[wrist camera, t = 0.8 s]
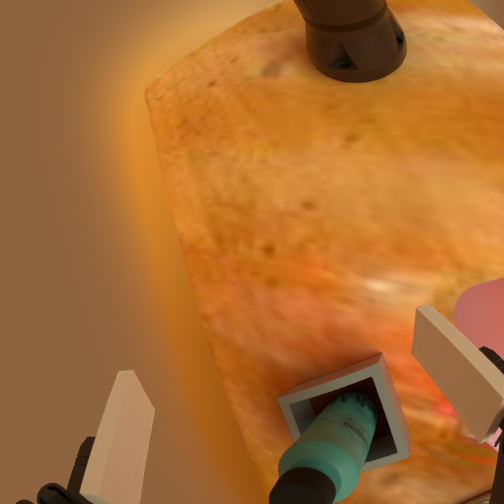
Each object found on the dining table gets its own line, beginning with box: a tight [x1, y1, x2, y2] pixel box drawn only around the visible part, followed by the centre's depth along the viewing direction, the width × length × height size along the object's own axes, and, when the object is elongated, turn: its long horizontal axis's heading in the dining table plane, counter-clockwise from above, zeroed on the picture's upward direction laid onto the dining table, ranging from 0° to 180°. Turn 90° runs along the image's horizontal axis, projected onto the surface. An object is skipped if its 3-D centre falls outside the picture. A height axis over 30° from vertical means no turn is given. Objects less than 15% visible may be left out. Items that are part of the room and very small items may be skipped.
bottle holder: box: [277, 353, 410, 472], centre depth 29 cm, size 11×11×6 cm
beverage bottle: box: [269, 393, 379, 504], centre depth 23 cm, size 6×7×20 cm
